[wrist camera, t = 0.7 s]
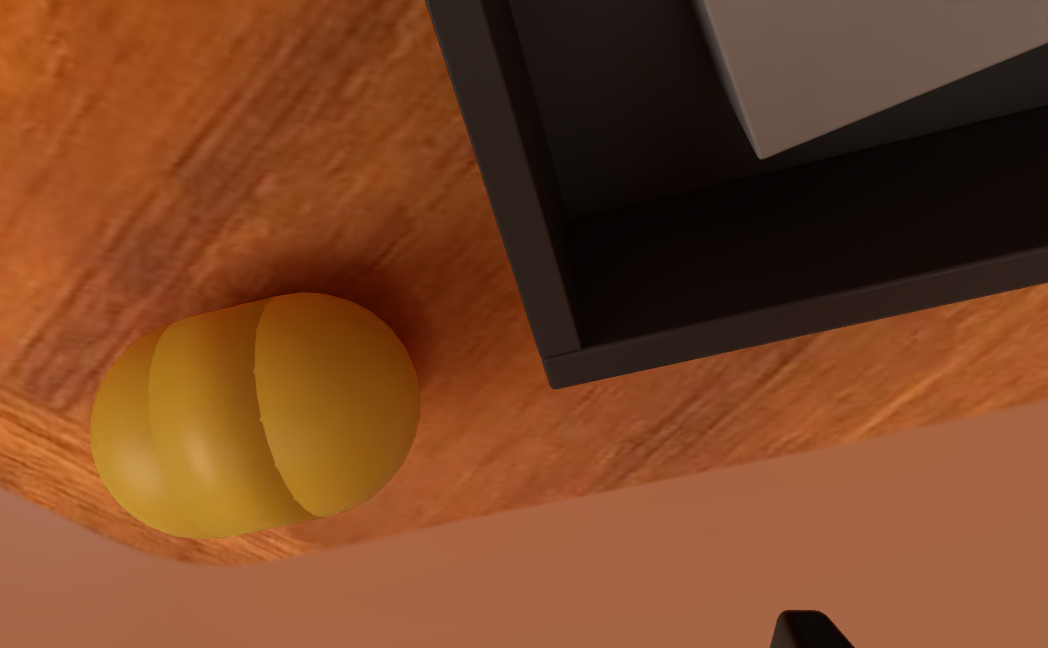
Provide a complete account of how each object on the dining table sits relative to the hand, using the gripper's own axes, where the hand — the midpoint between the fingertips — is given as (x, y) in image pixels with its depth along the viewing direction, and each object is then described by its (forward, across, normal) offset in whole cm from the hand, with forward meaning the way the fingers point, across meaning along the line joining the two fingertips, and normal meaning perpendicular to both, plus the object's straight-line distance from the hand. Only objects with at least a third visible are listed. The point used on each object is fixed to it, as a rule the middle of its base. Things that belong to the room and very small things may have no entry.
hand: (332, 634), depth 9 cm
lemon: (+14, +4, +6) cm, 16 cm away
